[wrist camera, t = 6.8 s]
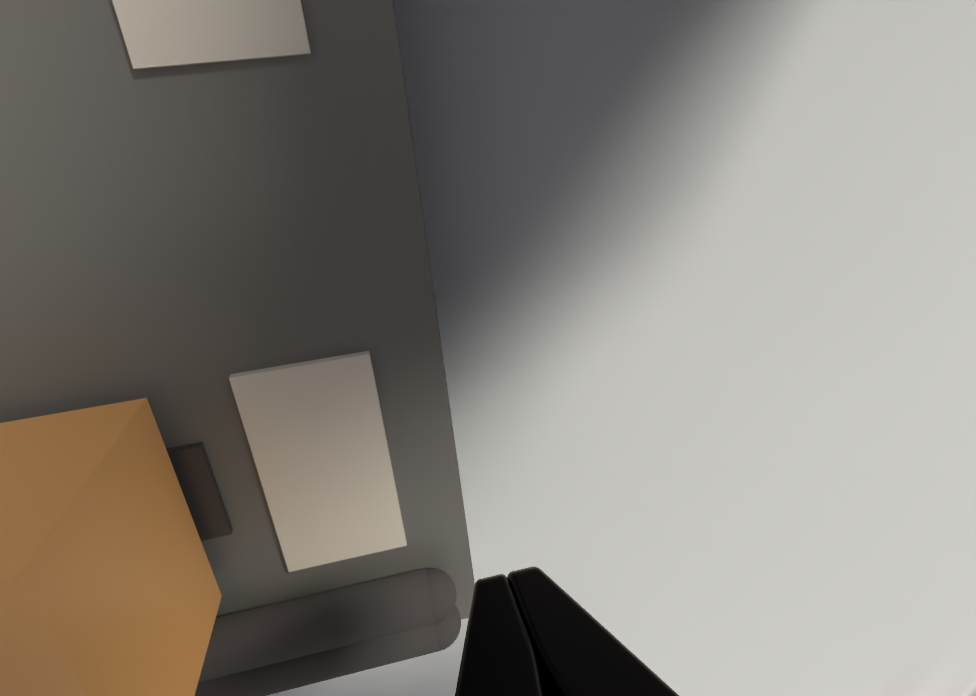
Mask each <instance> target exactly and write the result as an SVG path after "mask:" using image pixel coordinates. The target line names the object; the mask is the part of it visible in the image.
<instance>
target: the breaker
mask: <svg viewBox="0 0 976 696" xmlns="http://www.w3.org/2000/svg"><path fill="white" fill-rule="evenodd" d="M221 597H222V595H221V593H220V590H219V587H218V585H217V582H216V579H215V577H214V574H213V571H212V569H211V566H210V563H209V561H208V558H207V556H206V553H205V550H204V548H203V545H202V542H201V540H200V537H199V534H198V532H197V529H196V527H195V524H194V521H193V519H192V516H191V513H190V511H189V508H188V505H187V503H186V500H185V497H184V495H183V492H182V490H181V487H180V484H179V482H178V479H177V476H176V474H175V471H174V468H173V466H172V463H171V460H170V458H169V455H168V453H167V450H166V447H165V445H164V442H163V439H162V437H161V434H160V431H159V429H158V426H157V423H156V421H155V418H154V416H153V413H152V410H151V408H150V405H149V402H148V400H147V398H143V399H137V400H131V401H125V402H119V403H114V404H108V405H102V406H96V407H90V408H85V409H79V410H73V411H67V412H61V413H56V414H50V415H44V416H38V417H32V418H27V419H21V420H15V421H9V422H3V423H0V696H195V692H196V688H197V685H198V681H199V677H200V674H201V670H202V666H203V663H204V659H205V655H206V652H207V648H208V644H209V641H210V637H211V634H212V630H213V626H214V623H215V619H216V615H217V612H218V608H219V604H220V601H221Z"/></svg>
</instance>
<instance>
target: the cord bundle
mask: <svg viewBox="0 0 976 696" xmlns="http://www.w3.org/2000/svg"><path fill="white" fill-rule="evenodd" d="M456 596H457V593H456V587H455V584H454V582H453V580H452V578H451V577H450V576H449V575H448V574H447V573H446V572H445V571H443V570H441V569H438V568H424V569H420V570H416V571H412V572H407V573H403V574H399V575H394V576H390V577H386V578H381V579H377V580H373V581H369V582H364V583H360V584H356V585H351V586H347V587H343V588H339V589H334V590H330V591H326V592H321V593H317V594H313V595H308V596H304V597H300V598H296V599H291V600H287V601H283V602H278V603H274V604H270V605H266V606H261V607H257V608H253V609H248V610H244V611H240V612H235V613H231V614H227V615H223V616H218V617H216V619H215V623H214V626H213V630H212V634H211V637H210V641H209V644H208V648H207V652H206V655H205V659H204V663H203V666H202V670H201V674H200V677H199V681H198V685H197V688H196V692H195V696H266V695H270V694H274V693H278V692H282V691H285V690H289V689H293V688H297V687H301V686H305V685H309V684H313V683H317V682H321V681H324V680H328V679H332V678H336V677H340V676H344V675H348V674H352V673H356V672H359V671H363V670H367V669H371V668H375V667H379V666H383V665H387V664H391V663H395V662H398V661H402V660H406V659H410V658H414V657H418V656H422V655H426V654H430V653H433V652H437V651H441V650H443V649H446V648H447V647H449V646H450V645H451V644H452V643H453V642H454V641H455V640H456V638H457V636H458V634H459V631H460V628H461V617H460V613H459V610H458V608H457V607H456V605H455V603H456Z"/></svg>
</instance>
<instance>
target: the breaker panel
mask: <svg viewBox="0 0 976 696" xmlns="http://www.w3.org/2000/svg"><path fill="white" fill-rule="evenodd" d="M143 398H147V400H148V402H149V405H150V408H151V410H152V413H153V416H154V418H155V421H156V423H157V426H158V429H159V431H160V434H161V437H162V439H163V442H164V445H165V447H166V450H167V453H168V455H169V458H170V460H171V463H172V466H173V468H174V471H175V474H176V476H177V479H178V482H179V484H180V487H181V490H182V492H183V495H184V497H185V500H186V503H187V505H188V508H189V511H190V513H191V516H192V519H193V521H194V524H195V527H196V529H197V532H198V534H199V537H200V540H201V542H202V545H203V548H204V550H205V553H206V556H207V558H208V561H209V563H210V566H211V569H212V571H213V574H214V577H215V579H216V582H217V585H218V587H219V590H220V593H221V595H222V597H221V601H220V604H219V608H218V612H217V615H216V617H218V616H223V615H227V614H231V613H235V612H240V611H244V610H248V609H253V608H257V607H261V606H266V605H270V604H274V603H278V602H283V601H287V600H291V599H296V598H300V597H304V596H308V595H313V594H317V593H321V592H326V591H330V590H334V589H339V588H343V587H347V586H351V585H356V584H360V583H364V582H369V581H373V580H377V579H381V578H386V577H390V576H394V575H399V574H403V573H407V572H412V571H416V570H420V569H424V568H438V569H441V570H443V571H445V572H446V573H447V574H448V575H449V576H450V577H451V578H452V580H453V582H454V584H455V587H456V593H457V596H456V603H455V605H456V607H457V608H458V610H459V613H460V617H461V619H465V618H469V614H470V609H471V603H472V597H473V592H474V586H475V584H474V576H473V569H472V562H471V555H470V548H469V541H468V534H467V526H466V519H465V512H464V505H463V498H462V491H461V484H460V477H459V469H458V462H457V455H456V448H455V441H454V434H453V427H452V420H451V412H450V405H449V398H448V391H447V384H446V377H445V370H444V362H443V355H442V348H441V341H440V334H439V327H438V320H437V313H436V305H435V298H434V291H433V284H432V277H431V270H430V263H429V256H428V248H427V241H426V234H425V227H424V220H423V213H422V206H421V198H420V191H419V184H418V177H417V170H416V163H415V156H414V149H413V141H412V134H411V127H410V120H409V113H408V106H407V99H406V92H405V84H404V77H403V70H402V63H401V56H400V49H399V42H398V34H397V27H396V20H395V13H394V6H393V0H0V423H3V422H9V421H15V420H21V419H27V418H32V417H38V416H44V415H50V414H56V413H61V412H67V411H73V410H79V409H85V408H90V407H96V406H102V405H108V404H114V403H119V402H125V401H131V400H137V399H143Z"/></svg>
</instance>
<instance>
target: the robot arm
mask: <svg viewBox="0 0 976 696" xmlns="http://www.w3.org/2000/svg"><path fill="white" fill-rule="evenodd" d="M455 696H679V695H678V694H677V693H676V692H674V691H673V690H672V689H671V688H670V687H669V686H668V685H667V684H666V683H665V682H663V681H662V680H661V679H660V678H659V677H658V676H657V675H656V674H655V673H654V672H653V671H651V670H650V669H649V668H648V667H647V666H646V665H645V664H644V663H643V662H642V661H640V660H639V659H638V658H637V657H636V656H635V655H634V654H633V653H632V652H631V651H629V650H628V649H627V648H626V647H625V646H624V645H623V644H622V643H621V642H620V641H619V640H617V639H616V638H615V637H614V636H613V635H612V634H611V633H610V632H609V631H608V630H606V629H605V628H604V627H603V626H602V625H601V624H600V623H599V622H598V621H597V620H595V619H594V618H593V617H592V616H591V615H590V614H589V613H588V612H587V611H586V610H585V609H583V608H582V607H581V606H580V605H579V604H578V603H577V602H576V601H575V600H574V599H572V598H571V597H570V596H569V595H568V594H567V593H566V592H565V591H564V590H563V589H561V588H560V587H559V586H558V585H557V584H556V583H555V582H554V581H553V580H552V579H551V578H549V577H548V576H547V575H546V574H545V573H544V572H543V571H542V570H541V569H539V568H537V567H529V568H525V569H521V570H517V571H512V572H510V573H509V574H508V577H506V576H505V575H503V574H500V575H496V576H492V577H487V578H483V579H479V580H478V581H477V582H476V583H475V586H474V592H473V597H472V603H471V609H470V614H469V620H468V625H467V631H466V637H465V642H464V648H463V654H462V659H461V665H460V671H459V676H458V682H457V688H456V693H455Z"/></svg>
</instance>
